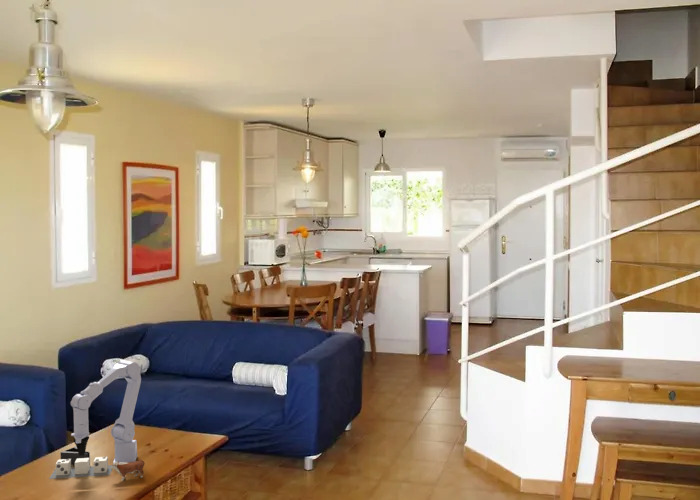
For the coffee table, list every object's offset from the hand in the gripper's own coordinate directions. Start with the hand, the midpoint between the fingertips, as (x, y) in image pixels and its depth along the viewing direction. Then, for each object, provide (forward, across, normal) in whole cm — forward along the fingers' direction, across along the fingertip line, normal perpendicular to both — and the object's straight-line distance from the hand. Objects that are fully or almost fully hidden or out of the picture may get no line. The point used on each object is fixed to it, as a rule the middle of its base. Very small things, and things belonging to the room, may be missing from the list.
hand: (81, 454), depth 304 cm
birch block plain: (+7, 0, 0) cm, 7 cm away
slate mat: (+8, 0, 0) cm, 8 cm away
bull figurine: (+8, +11, +20) cm, 24 cm away
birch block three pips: (+7, 0, -8) cm, 10 cm away
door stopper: (+5, -15, -9) cm, 18 cm away
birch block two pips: (+7, 0, +8) cm, 10 cm away
